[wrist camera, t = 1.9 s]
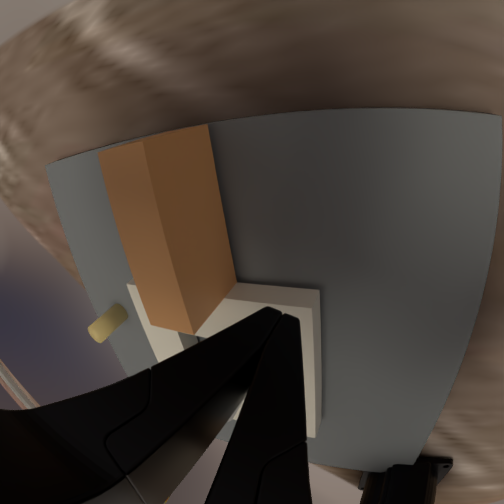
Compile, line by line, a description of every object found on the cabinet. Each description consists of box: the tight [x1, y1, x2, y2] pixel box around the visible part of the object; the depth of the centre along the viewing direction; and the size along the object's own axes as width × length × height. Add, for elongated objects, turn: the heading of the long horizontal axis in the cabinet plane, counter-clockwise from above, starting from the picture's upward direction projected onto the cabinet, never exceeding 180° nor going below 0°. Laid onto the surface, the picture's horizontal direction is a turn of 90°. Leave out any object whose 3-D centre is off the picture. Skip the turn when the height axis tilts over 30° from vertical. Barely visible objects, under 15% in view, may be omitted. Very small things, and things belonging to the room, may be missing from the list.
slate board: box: [45, 108, 502, 473], centre depth 15 cm, size 22×22×4 cm
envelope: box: [0, 363, 36, 409], centre depth 74 cm, size 24×2×14 cm
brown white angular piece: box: [97, 124, 322, 438], centre depth 13 cm, size 16×9×4 cm, turn 9°
